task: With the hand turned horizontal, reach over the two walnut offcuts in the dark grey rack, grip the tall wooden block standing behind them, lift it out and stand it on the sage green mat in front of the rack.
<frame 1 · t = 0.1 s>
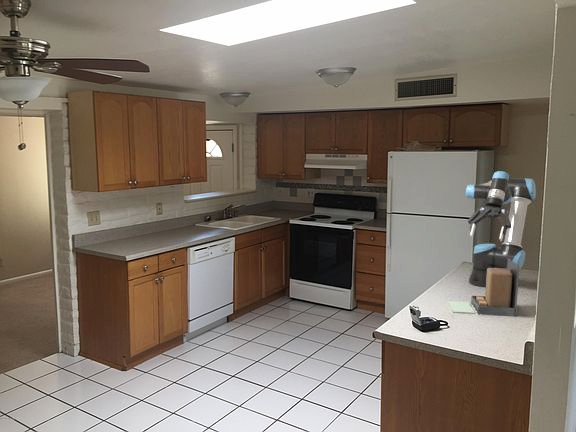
hand: (485, 238, 241), 36 cm above the worktop, tool tilted 35°, fingers open, 13 cm apart
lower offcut: (481, 310, 247), on the worktop, touching upper offcut
upper offcut: (481, 304, 248), point 2 cm above the worktop, touching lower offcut
mat: (460, 307, 249), on the worktop
wooden block: (496, 310, 246), on the worktop
rack: (492, 309, 247), on the worktop
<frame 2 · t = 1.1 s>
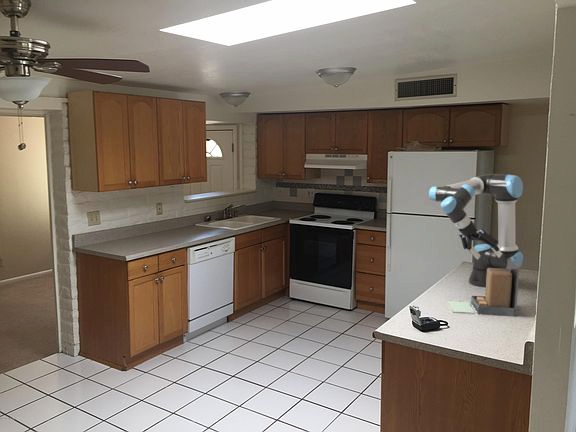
hand: (489, 256, 247), 26 cm above the worktop, tool tilted 40°, fingers open, 13 cm apart
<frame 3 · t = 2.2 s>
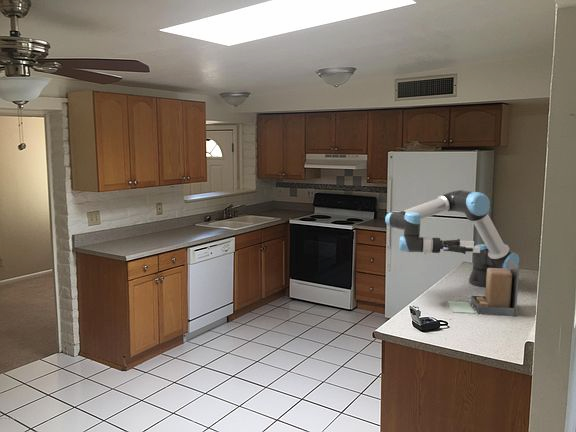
hand: (476, 246, 243), 31 cm above the worktop, tool horizontal, fingers open, 13 cm apart
nothing on the worktop moved.
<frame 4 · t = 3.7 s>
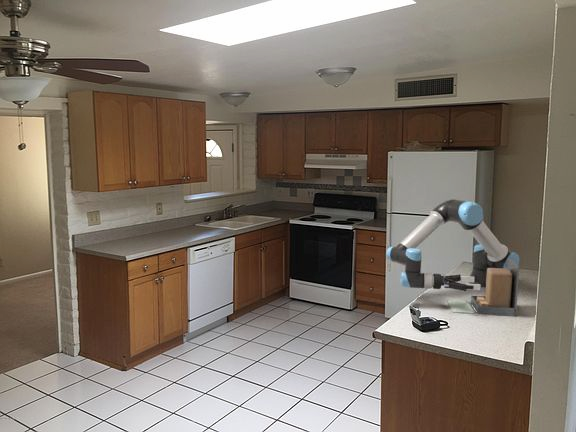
hand: (477, 283, 246), 13 cm above the worktop, tool horizontal, fingers open, 13 cm apart
nothing on the worktop moved.
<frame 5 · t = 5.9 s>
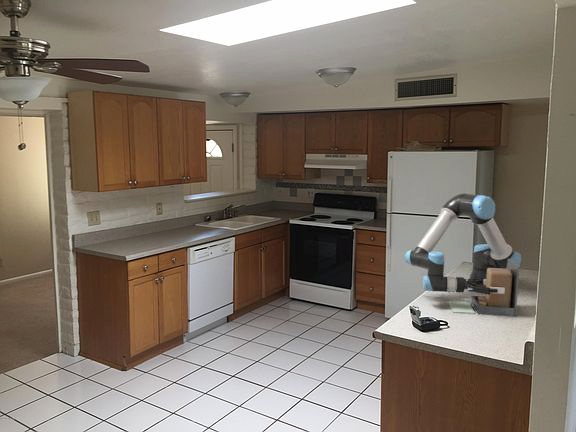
hand: (500, 286, 244), 12 cm above the worktop, tool horizontal, fingers open, 13 cm apart
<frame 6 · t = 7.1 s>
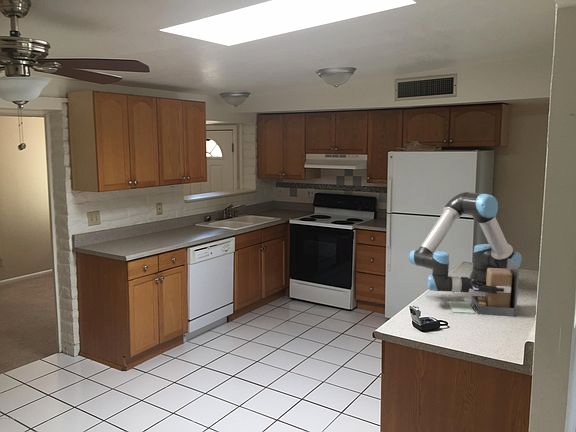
hand: (507, 286, 244), 12 cm above the worktop, tool horizontal, fingers closed on wooden block, 10 cm apart
wooden block: (496, 310, 246), on the worktop, touching gripper
everything else where it was.
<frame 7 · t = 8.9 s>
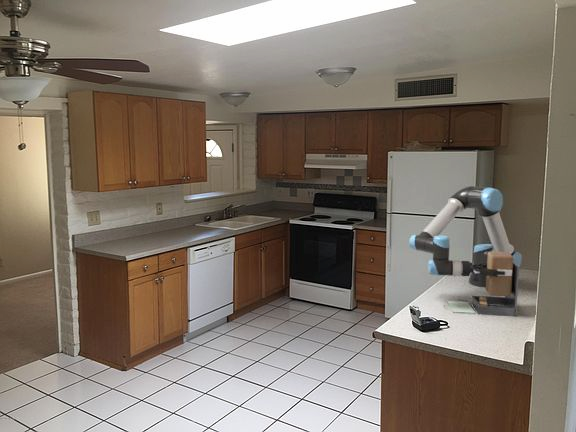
hand: (508, 270, 242), 20 cm above the worktop, tool horizontal, fingers closed on wooden block, 10 cm apart
wooden block: (498, 294, 245), point 8 cm above the worktop, touching gripper
when the fingers open (14 cm above the worktop, at t = 13.0 s): wooden block drops 1 cm, resting on mat.
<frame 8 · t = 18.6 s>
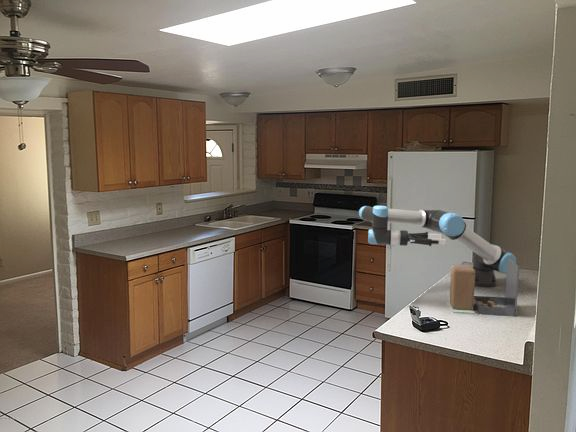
hand: (443, 239, 247), 34 cm above the worktop, tool horizontal, fingers open, 13 cm apart
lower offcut: (480, 309, 247), on the worktop
upper offcut: (490, 307, 246), point 1 cm above the worktop, tilted 90°
wooden block: (460, 307, 249), resting on mat
at the end: wooden block inside the target area on the mat (0.0 cm from its centre), point 0.4 cm above the mat's base; wooden block tilted 0°; the gripper is holding nothing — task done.
